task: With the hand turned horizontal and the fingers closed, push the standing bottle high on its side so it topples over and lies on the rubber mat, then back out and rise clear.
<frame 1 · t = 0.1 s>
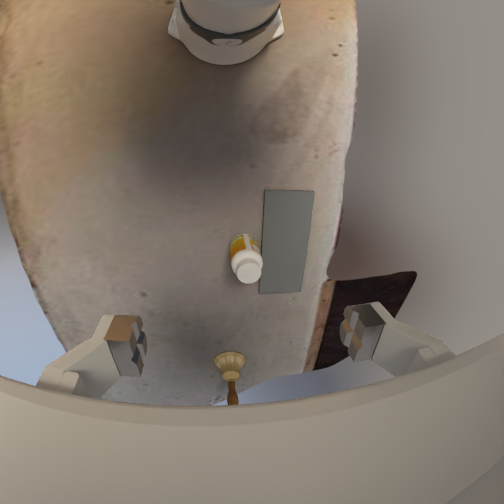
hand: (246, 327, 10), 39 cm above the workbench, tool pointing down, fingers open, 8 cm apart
hand bell: (229, 360, 69), on the workbench
supplement bottle: (243, 245, 53), on the workbench
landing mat: (284, 244, 54), on the workbench
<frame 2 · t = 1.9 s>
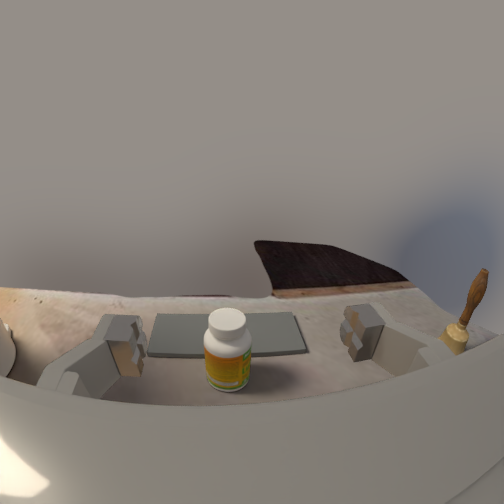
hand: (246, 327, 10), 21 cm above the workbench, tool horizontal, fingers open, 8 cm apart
hand bell: (443, 357, 34), on the workbench
supplement bottle: (228, 377, 32), on the workbench
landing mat: (225, 336, 40), on the workbench
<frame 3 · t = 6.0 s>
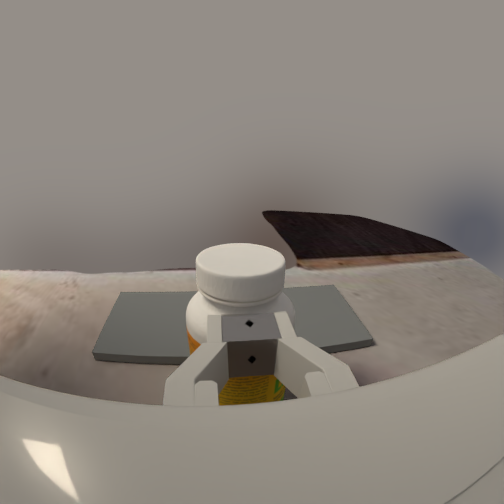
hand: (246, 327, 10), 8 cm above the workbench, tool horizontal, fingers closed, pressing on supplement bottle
supplement bottle: (240, 401, 16), on the workbench, touching gripper
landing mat: (231, 325, 23), on the workbench
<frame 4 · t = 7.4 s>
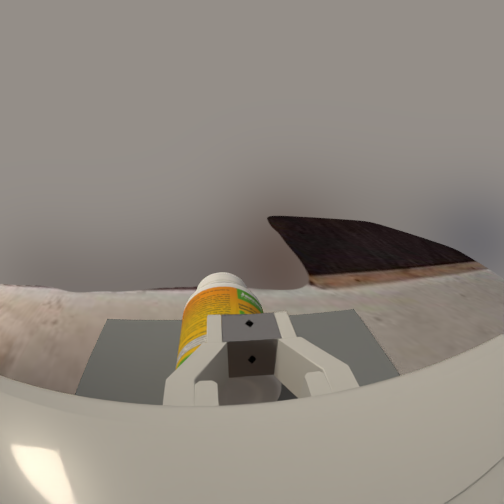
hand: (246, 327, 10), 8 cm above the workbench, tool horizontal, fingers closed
supplement bottle: (228, 401, 12), point 3 cm above the workbench, touching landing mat
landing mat: (236, 364, 19), on the workbench
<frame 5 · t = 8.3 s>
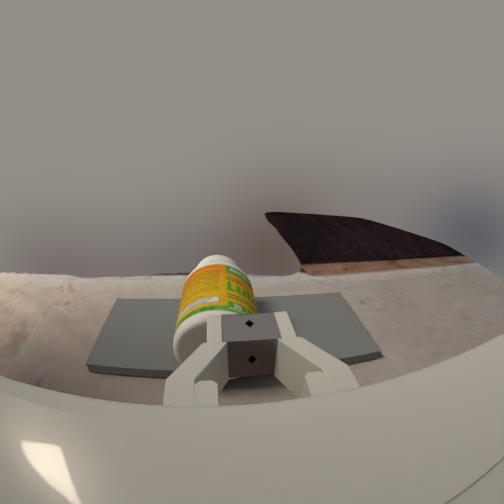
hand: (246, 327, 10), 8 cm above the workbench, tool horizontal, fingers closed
supplement bottle: (218, 356, 15), point 3 cm above the workbench, touching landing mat
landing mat: (232, 336, 22), on the workbench
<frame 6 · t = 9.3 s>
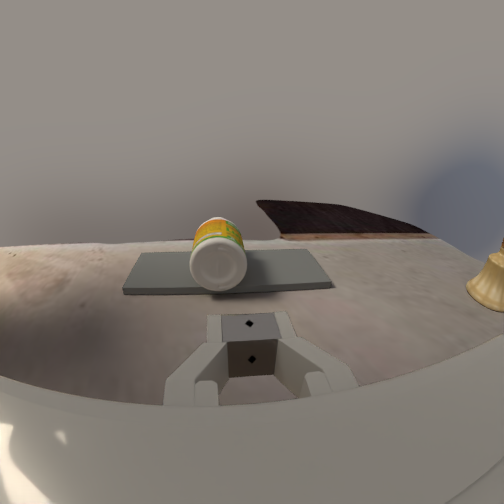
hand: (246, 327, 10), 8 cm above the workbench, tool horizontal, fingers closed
hand bell: (488, 297, 26), on the workbench
supplement bottle: (218, 268, 25), point 3 cm above the workbench, touching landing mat
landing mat: (225, 272, 32), on the workbench
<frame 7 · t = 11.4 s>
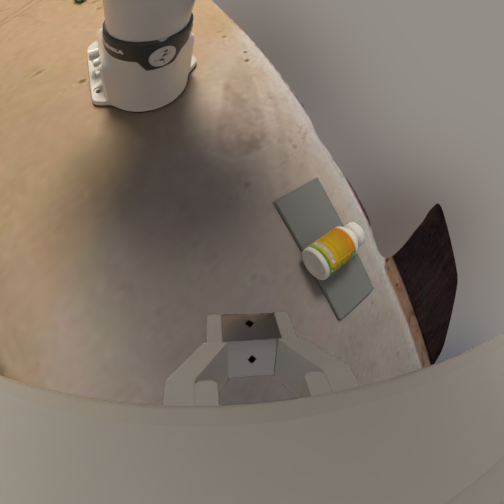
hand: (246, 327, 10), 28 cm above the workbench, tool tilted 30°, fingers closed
supplement bottle: (312, 266, 39), point 3 cm above the workbench, touching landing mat
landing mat: (328, 249, 44), on the workbench
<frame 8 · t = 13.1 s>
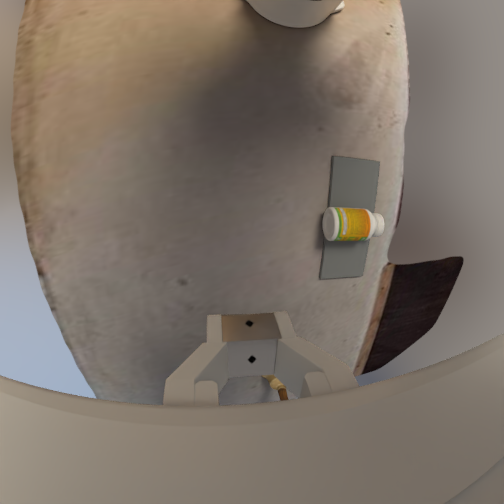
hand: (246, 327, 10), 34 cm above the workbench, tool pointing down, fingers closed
hand bell: (275, 366, 59), on the workbench
supplement bottle: (326, 223, 42), point 3 cm above the workbench, touching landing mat
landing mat: (349, 220, 46), on the workbench
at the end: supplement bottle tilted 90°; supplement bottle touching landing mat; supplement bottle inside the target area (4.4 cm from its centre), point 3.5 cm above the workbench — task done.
